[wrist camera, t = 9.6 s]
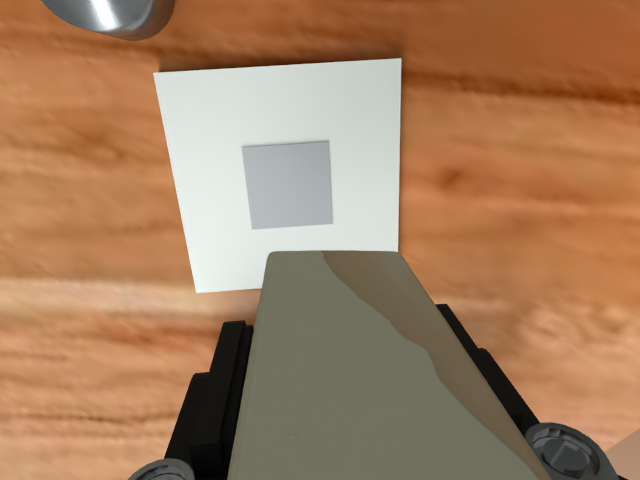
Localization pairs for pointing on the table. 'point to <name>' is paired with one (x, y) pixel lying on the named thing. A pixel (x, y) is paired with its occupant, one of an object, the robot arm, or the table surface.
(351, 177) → the white square plate
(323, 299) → the box
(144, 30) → the dark tin
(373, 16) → the table surface
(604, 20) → the table surface
